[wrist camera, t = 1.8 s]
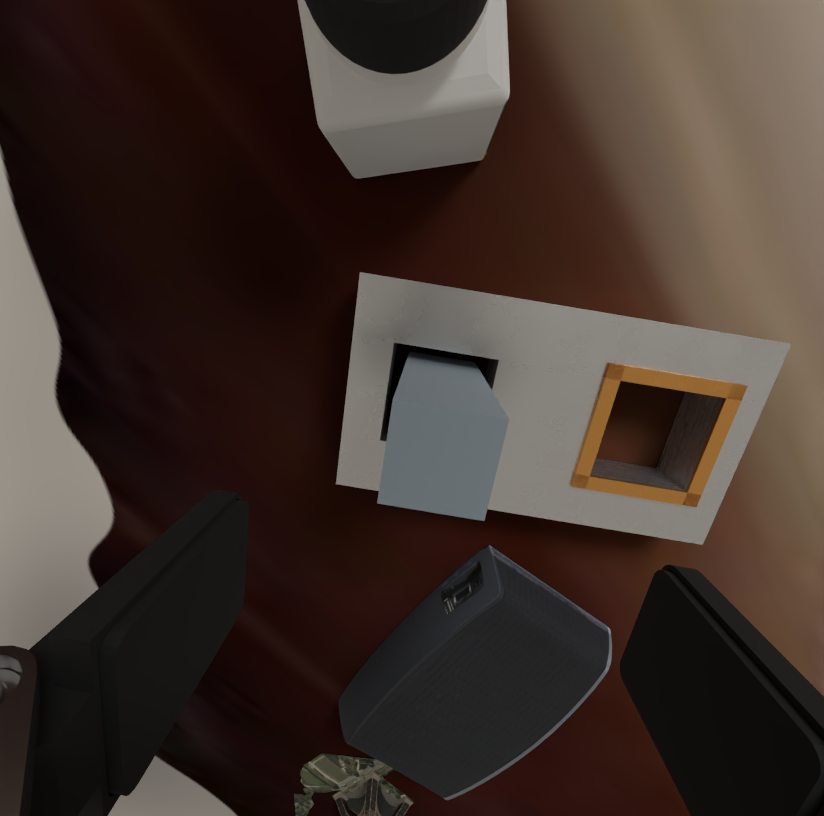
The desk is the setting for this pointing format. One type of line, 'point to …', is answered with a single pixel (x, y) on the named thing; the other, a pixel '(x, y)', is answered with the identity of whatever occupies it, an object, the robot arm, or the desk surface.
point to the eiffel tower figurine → (351, 786)
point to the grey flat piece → (567, 402)
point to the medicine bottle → (407, 80)
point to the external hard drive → (474, 676)
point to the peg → (442, 439)
